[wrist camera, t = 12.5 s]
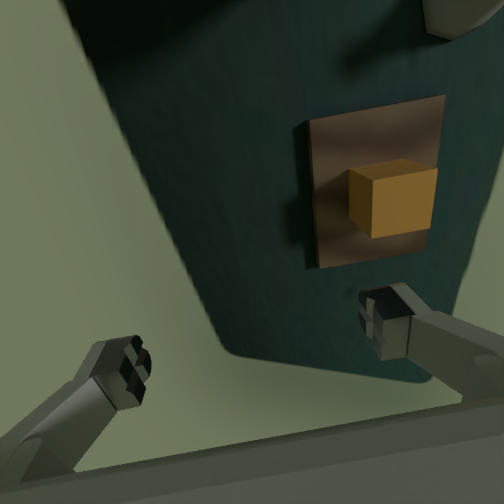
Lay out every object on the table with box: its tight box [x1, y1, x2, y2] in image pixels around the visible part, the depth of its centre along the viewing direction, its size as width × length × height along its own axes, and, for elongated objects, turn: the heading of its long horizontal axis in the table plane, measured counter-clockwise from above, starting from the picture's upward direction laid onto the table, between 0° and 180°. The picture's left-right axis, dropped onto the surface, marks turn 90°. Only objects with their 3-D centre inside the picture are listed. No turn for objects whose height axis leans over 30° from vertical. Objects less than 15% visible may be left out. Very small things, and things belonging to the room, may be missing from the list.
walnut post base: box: [306, 94, 446, 269], centre depth 31 cm, size 18×14×6 cm
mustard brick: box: [349, 159, 438, 239], centre depth 30 cm, size 6×6×6 cm
